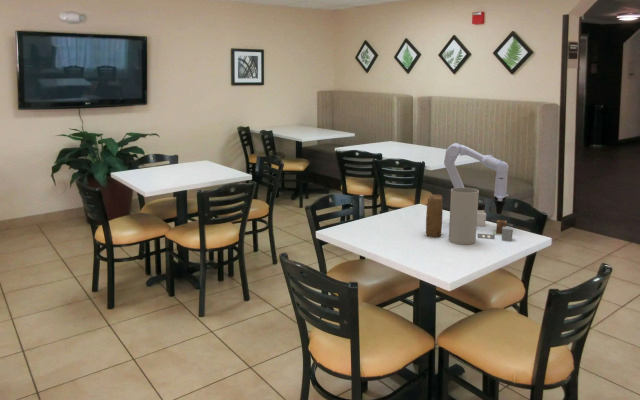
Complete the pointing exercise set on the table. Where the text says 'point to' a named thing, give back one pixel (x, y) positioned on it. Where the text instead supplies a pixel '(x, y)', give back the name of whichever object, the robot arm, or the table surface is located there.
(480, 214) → the medicine bottle
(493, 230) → the sage mat
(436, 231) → the block
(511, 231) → the slate block
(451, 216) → the cylinder vase
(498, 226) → the walnut block
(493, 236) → the tile
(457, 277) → the table surface
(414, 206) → the table surface
